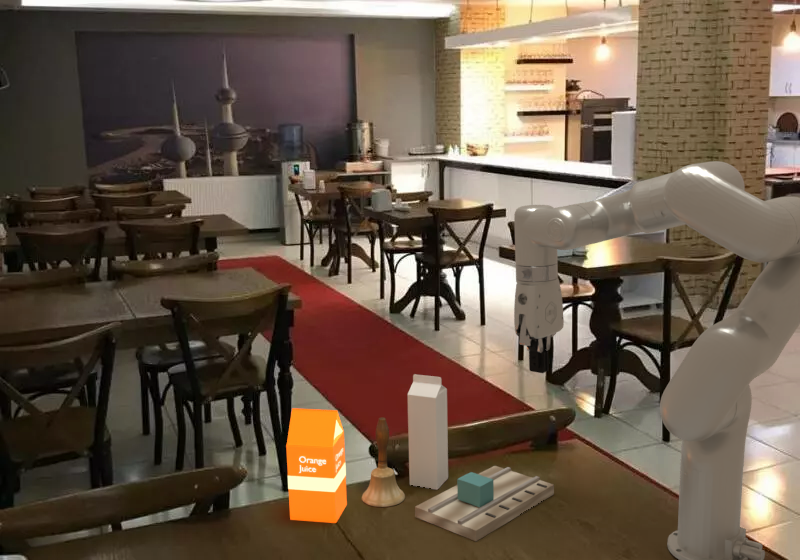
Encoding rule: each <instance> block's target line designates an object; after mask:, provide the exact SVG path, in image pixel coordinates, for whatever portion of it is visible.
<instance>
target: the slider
mask: <svg viewBox="0 0 800 560" xmlns="http://www.w3.org/2000/svg"><path fill="white" fill-rule="evenodd" d="M456 482H457V484H456V485H457V489H458V500H461V501H464V502H466V503H469V504H472V505H475V506H477V507H482V506H484V505H486V504H487V503H489V502H491V501H493V500H494V484H493V479H491V478H488V477H485V476H482V475H479V473H476V472H472V471H470V472H469V473H466V474H464V475H462V476H460V477H458V478H457V479H456Z"/></svg>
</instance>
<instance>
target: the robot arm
mask: <svg viewBox="0 0 800 560" xmlns="http://www.w3.org/2000/svg"><path fill="white" fill-rule="evenodd" d="M745 190H746V189H745V182H744V178H743V175H742V174H741V173H740V171H739V170H738V168H736V167H735V166H733V165H732V164H729V163H727V162H724V161H719V160H717V161H715V160H714V161H705V162H698V163H692V164H688V165H684V166H683V167H680V168H679V169H677V170H675V171H674V172H669V173H666V174H662V175H659V176H655V177H652V178H648V179H645V180H641V181H638V182H636V183H634V184H632V187H631V189H629V190H626V191H623V192H620V193H617V194H613V195H610V196H607V197H603V198H600V199H599V198H598V199H595V200H592V201H591V200H590V201H586V202H579V203H574V204H568V205H563V206H559V207H557V206H556V207H554V206H553V205H550V204H549V205H548V204H529V205H521V206H520V207H518V208H516V209H515V212H514V215H513V218H514V219H513V220H514V221H513V223H514V225H513V226H514V255H515V256H514V257H515V282H516V286H515V293H514V307H513V308H514V309H513V311H514V314H513V317H514V318H513V321H514V331H515V335H516V336H518V337H519V342H518V343H519V345H520V346H526V349H527V350H526V351H528V358H529V359H528V365H529V366H528V368H529V371H530V372H534V373H538V374H539V373H540V374H544V373H547V372H549V370H550V367H549V366H550V363H549V362H550V361H549V359H550V358H549V350H550V348H551V340H552V338H553V337H554V336H556V334H557V333H558V332H560V331H562V330H563V328H564V325H565V324H564V321H565V320H564V306H563V295H562V294H563V293H562V288H561V284H560V280H559V277H558V276H559V273H558V272H559V271H558V250H559V251H570V250H574V249H578V248H582V247H584V246H589V245H593V244H598V243H602V242H605V241H609V240H614V239H618V238H623V237H627V236H629V235H635V234H639V233H645V234H651V233H657V232H660V231H664V230H668V229H672V228H676V227H681V226H687V227H689V228H690V229H692V230H693V231H696V232H697V233H699V234H700V235H702V236H704V237H706V238H708V240H710V241H712V242H714V243H716V244H717V245H719V246H720V247H723V248H725V249H727V250H728V251H730V252H732V253H733V254H735V255H737V256H739V257H741V258H742V259H745V260H747V261H751V262H755V263H767V264H766V266H765V267H764V269H763V270H762V271H761V272H760V274H758V276H757V277H756V279H755V281H753V283H752V284H751V285H750V286H751V287H750V288H749V290H748V291H747V294H746V295H745V297H744V298H743V299H742V301H741V302H740V303H739V305H738V306H737V307H736V309H735V310H734V311H733V313H731V315H729V316H727V317H726V318H724V319H722V320H720V321H718V322H716V323H715V324H712V325H711V326H709V327H708V328H707V329H705V330H704V331H703V332H702V333H701V334H700V335H699V336H698V337H697V339H696V340H695V341H694V343H693V344H692V345H691V347H690V349H689V350H688V352H687V354H686V355H685V356H684V358H683V360H682V361H681V363H680V364H679V366H678V367H677V369H676V370H675V372H674V374H673V376H672V377H671V378H670V380H669V382H668V384H667V385H666V387H665V389H664V390H663V393H662V394H661V398H660V402H659V414H660V418H661V420H662V423H663V425H664V427H665V428H666V429H667V430H668V432H669V433H670V434H671V435H673V436H674V437H675V438H677V439H680V440H681V445H680V446H681V448H680V449H681V450H680V463H679V465H680V467H679V469H680V471H679V489H678V491H679V492H678V513H677V515H678V518H677V519H678V520H677V530H675V531H672V532H671V533H670V534H669V535H668V537H667V549H668V551H669V553H670V554H671V555H672V557H675V558H676V559H678V560H765V555H766V552H765V550H764V549H763V543H760V542H756V541H753V540H750V539H748V537H746V533H747V531H746V530H747V528H745V527H740V526H741V513H742V511H741V509H742V495H743V480H744V479H743V477H744V465H745V464H744V462H745V450H746V440H747V439H746V438H747V432H748V427H749V423H750V416H751V411H752V402H753V401H752V400H753V398H752V397H753V396H752V390H751V386H750V384H751V383H752V381H754V379H757V377H759V376H760V375H762V374H764V373H765V372H766V371H768V370H769V369H771V367H772V366H774V365H775V363H776V362H777V360H778V359H779V357H780V356H781V353H782V352H783V351H784V349H785V347H786V346H787V344H788V343H789V342H790V340H791V339H792V337H793V335H794V334H795V332H796V331H797V329H798V328H799V326H800V197H798V196H780V197H779V196H778V197H775V198H771V199H768V200H763V199H761V198H758V197H757V196H755V195H753V194H751V193H750V192H748V191H745Z"/></svg>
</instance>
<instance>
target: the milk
mask: <svg viewBox="0 0 800 560" xmlns="http://www.w3.org/2000/svg"><path fill="white" fill-rule="evenodd" d="M407 426H408V427H407V429H408V430H407V431H408V433H407V434H408V464H409V465H408V469H409V470H408V471H409V474H408V476H409V486H411V485H413V486H412V487H417V486H420V487H419V488H423V487H425V489H429V488H431V489H430V490H434V491H437V490H438V489H440V488H441V487H442V485H443V484H444V483H445V482H446V481H447V480H448V479H449V454H448V453H449V449H448V447H449V445H448V444H449V443H448V438H449V437H448V436H449V435H448V389H447V388H446V387H445V386H444V385H443V384H442V377H441V376H433V375H432V376H431V375H423V374H416V373H414V374H413V375H412V384H411V385H410V388H409V390H408V392H407ZM438 491H439V490H438Z"/></svg>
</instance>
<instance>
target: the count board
mask: <svg viewBox="0 0 800 560" xmlns="http://www.w3.org/2000/svg"><path fill="white" fill-rule="evenodd" d="M478 474H479V475H482V476H485V477H488V478H491V479H493V484H494V500H493V501H491V502H489V503H487V504H486V505H484V506H482V507H477V506H475V505H472V504H469V503H466V502H464V501H461V500H458V489H457V484H456V485H454V486H452V487H450V488H448V489H447V490H445V491H442V492H441V493H439V494H436V495H435V496H433V497H431V498H429V499H427V500H424V501H423V502H422V503H421V502H420V504H417V505H416V506H414V517H415V518H417V519H419V520H422V521H424V522H427V523H428V524H429V523H430V524H432V525H434V526H436V527H439V528H442V529H444V530H447V531H450V532H452V533H454V534H457V535H459V536H461V537H464V538H466V539H469V540H472V541H474V542H478V541H479V540H481V539H482V538H484V537H486V536H487V535H489V534H491V533H492V532H494V531H495V530H497V529H499V528H501V527H502V526H504V525H505V524H508V523H509V522H510V521H512V520H514V519H516V518H517V517H519V516H520V514H521V513H522V514H524V513H525V512H524V511H526V510H527V511H529V510H530V509H532V508H533V506H534V507H535V506H537V505H539V504H540V503H542V502H544V501H546V500H547V499H549V498H551V497H553V496H554V495H555V484H554V483H550V482H547V481H544V480H541V477H540V476H537V475H535V476H533V477H532V476H528V475H525V474H522V473H519V472H516V471H513V470H512V468H511V467H509V466H506V467H505V468H504V467H500V466H497V465H493V466H491V467H490V468H487V469H485V470H483V471H481V472H479V473H478ZM543 500H544V501H543ZM541 501H542V502H541ZM538 503H539V504H538ZM531 507H532V508H531ZM528 509H529V510H528ZM527 511H526V512H527ZM523 512H524V513H523ZM522 514H521V515H522Z"/></svg>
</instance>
